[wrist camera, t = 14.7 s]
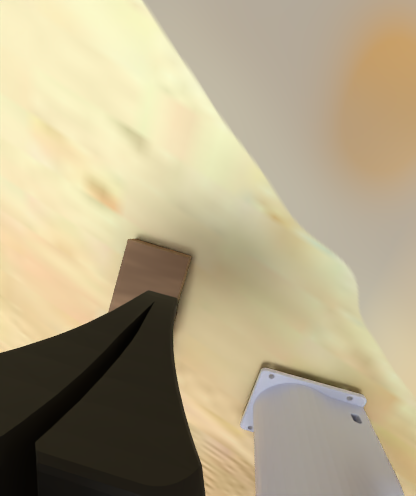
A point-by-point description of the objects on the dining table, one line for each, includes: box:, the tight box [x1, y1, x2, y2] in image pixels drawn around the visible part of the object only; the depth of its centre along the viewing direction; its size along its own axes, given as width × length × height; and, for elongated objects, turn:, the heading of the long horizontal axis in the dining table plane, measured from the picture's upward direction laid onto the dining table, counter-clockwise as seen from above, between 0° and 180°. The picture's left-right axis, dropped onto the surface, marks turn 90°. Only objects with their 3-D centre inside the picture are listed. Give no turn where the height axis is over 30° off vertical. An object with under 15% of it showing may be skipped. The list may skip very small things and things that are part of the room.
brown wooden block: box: [108, 239, 192, 313], centre depth 20 cm, size 2×5×8 cm
